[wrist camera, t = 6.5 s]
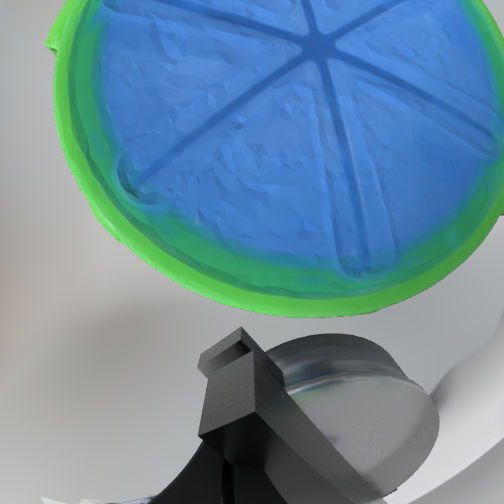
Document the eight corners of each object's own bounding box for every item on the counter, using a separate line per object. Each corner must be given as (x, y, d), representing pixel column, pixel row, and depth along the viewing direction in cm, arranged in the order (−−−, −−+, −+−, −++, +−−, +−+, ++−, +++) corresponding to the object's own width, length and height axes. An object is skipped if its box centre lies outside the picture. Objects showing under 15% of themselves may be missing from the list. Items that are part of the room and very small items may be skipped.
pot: (432, 423, 19) (453, 454, 15) (309, 495, 20) (315, 529, 16) (317, 247, 15) (340, 269, 11) (148, 370, 17) (127, 412, 13)
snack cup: (438, 121, 14) (580, 92, 4) (361, 287, 16) (473, 402, 6) (187, -3, 12) (141, -132, 2) (95, 161, 14) (-60, 153, 4)
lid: (451, 462, 14) (474, 500, 10) (301, 535, 16) (307, 575, 12) (370, 266, 11) (426, 307, 7) (124, 406, 12) (94, 468, 8)
